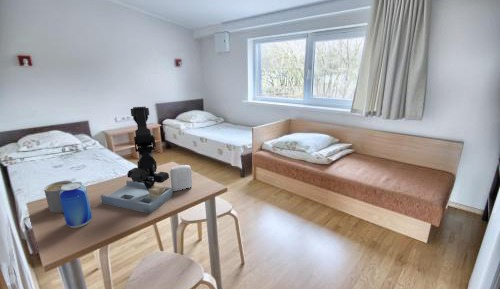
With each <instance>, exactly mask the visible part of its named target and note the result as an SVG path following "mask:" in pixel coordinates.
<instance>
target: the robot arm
mask: <svg viewBox="0 0 500 289" xmlns="http://www.w3.org/2000/svg"><path fill="white" fill-rule="evenodd" d="M130 115H131V117H133V121H134V123H135V124H136V126H137V128H136V130H135V131H134V133H135V136H133V140H134V141H133V142H134V147H135V153H138V161H137V167H134V168H132V169H130V170H128V171H127V174H126V176H127V178H131V181H133V182H138V183H144V185H145V186H146V188H147V190H148V192H149V188H151V187H152V186H154V185H155V183H157V184H158V183H159V184H162V183H164V182H166V181H167V180H168V179H170V174H169V173H168V172H165V171H159V172H158V173H157V168H158V166H157V165H158V164H157V161H156V160H155V158H154V155H153V151H155V149H156V147H157V146H156V141H155V140H156V139H155V137H154V135H153V134H152V132H151V129H149V128H148V125H147V122H148V119H149V116H150V110H149V107H146V106H133V107H132V108H130Z"/></svg>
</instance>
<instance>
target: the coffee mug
mask: <svg viewBox="0 0 500 289" xmlns="http://www.w3.org/2000/svg"><path fill="white" fill-rule="evenodd" d="M72 182H73V181H72V180H62V181H61V180H60V181H55V182H52V183H50V184H48V185H46V186H44V188H43V191H44V196H45V198H46V202H47V207H48V210H49V212H51V213H54V214H55V213H56V214H58V213H64V212H63V208H62V204H61V200H60V195H59V194H60V191H61V187H62V186H64V185H66V184H68V183H72Z"/></svg>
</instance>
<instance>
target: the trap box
mask: <svg viewBox="0 0 500 289" xmlns="http://www.w3.org/2000/svg"><path fill="white" fill-rule="evenodd" d="M125 184H126V185H124V186H122V187H120V188H118V189H117V190H115V191H113V192H112V193H109V194H108V195H107V194H101V195H100V198H101V199H100V200H101V203H102V204H104V205H109V206H113V207H118V208H122V209H128V210H132V211H136V212H141V213H146V214H152V213H153V212H155V211H156V210H158V208H160V207H161V206H162V205H163V204H165V203H166V202H167V201H168V200H170V199H171V198H173V196H174V193H173V192H174V191H173V190H172V188H171V187H169V186H168V187H167V186H165V192H164V193H163V194H162V195H160V196H159V197H157V198H152V197H149V192H148V190H147V188H146V186H145V185H144V183H143V182H141V183H138V182H133V181H132V180H126V183H125Z"/></svg>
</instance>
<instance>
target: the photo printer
mask: <svg viewBox="0 0 500 289" xmlns="http://www.w3.org/2000/svg"><path fill="white" fill-rule="evenodd" d="M169 173H170V174H169V176H170V185H171V186H170V188H172V190H173V192H176V191H182V189H183V190H187V189H186V188H189V189H191V188H190V187H192V188H193V176H192V168H191V165H187V164H180V165H176V166H173V167H171V168H170V172H169Z"/></svg>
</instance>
